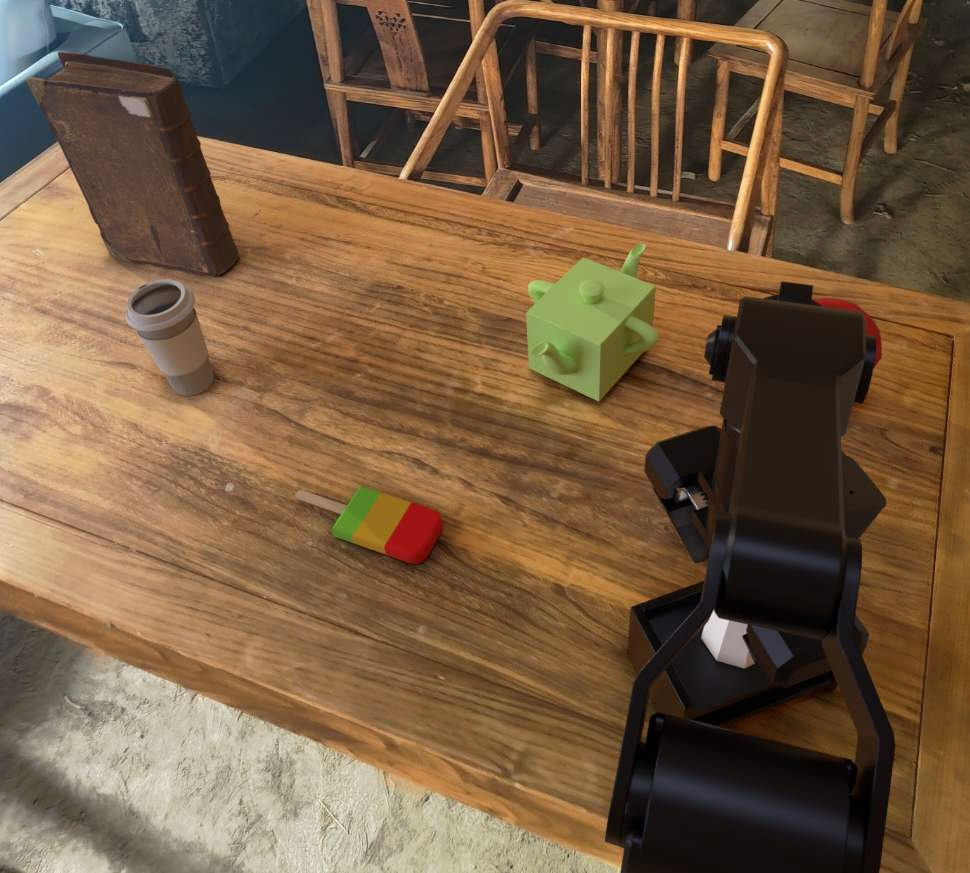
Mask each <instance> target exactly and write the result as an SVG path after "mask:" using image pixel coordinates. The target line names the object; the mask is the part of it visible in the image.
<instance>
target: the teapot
mask: <svg viewBox="0 0 970 873" xmlns="http://www.w3.org/2000/svg"><path fill="white" fill-rule="evenodd" d="M645 250H646V244H645V243H638V244H636V245H635V246H634V247H632V249H631V250H630V251H629V253H628V255H627V256H626V258H625V261H624V263H623V265H622V267H621V269H620V271H619V270H617V269H614V268H611V267H609V266H607V265H604V264H601V263H599V262H596V261H594V260H591V259H588V258H587V257H582V258H581V259H580V260H578V261H577V262H576V263H575V264H574V265H573V266H572V267H571V268H570V269H569V270H567V272H566V273H565V274H564V275H563V276H561V277H560V279H558V281H557V282H556V283H554V282H551V281H548V280H545V279H544V280H543V279H535V280H532V281H531V282H530V283H528V286H527V291H528V294H529V296H530V298H531V300H532V301H533V303H534V304H533V305H532V306H531V307H530V308H528V310H527V311H526V312H525V318H526V320H525V321H526V338H527V340H526V341H527V358H528V369H529V370H532V371H534V372H536V373H538V374H540V375H542V376H544V377H546V378H549V379H550V380H552V381H555V382H557V383H558V384H561V385H563V386H565V387H567V388H569V389H572V390H573V391H575V392H578V393H580V394H582V395H584V396H586V397H588V398H589V399H593V400H595V401H597V402H600V401H601V400H602V399H603V398H604V397H605V396H606V394H608V392H609V391H610V390H611V389H612V388H613V387H614V386H615V385H616V384H617V382H618V381H619V380H620V379H621V378H622V376H624V374H625V373H626V372H627V371H628V370H629V369H630V367H631V366H632V365H633V364H635V362H636V361H637V360H638V359H639V358H640V356H642V354H643V353H644V352H646V351H649V350H651V349H653V348H654V347H655V346H656V345H657V344H658V342H659V339H660V337H659V332H658V331H657V330H656V329H655V328H654V327H653V326H654V314H655V303H656V293H657V292H656V291H657V286H656V285H654V284H651V283H649V282H647V281H643V280H641V279H639V278H638V270H639V264H640V262H641V258H642V256H643V255H644V252H645Z"/></svg>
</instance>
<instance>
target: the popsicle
mask: <svg viewBox="0 0 970 873" xmlns="http://www.w3.org/2000/svg"><path fill="white" fill-rule="evenodd" d="M294 498H295V499H296V500H299V501H301V502H304V503H307V504H309V505H312V506H316V507H319V508H322V509H323V510H324V509H325V510H327V511H330V512H333V513H336V514H338V515H339V517H338V518H337V520H336V521H335V523H334V524H333V526H332V527H331V533H332V535H333V537H335V538H338V539H341V540H344V541H347V542H349V543H352V544H353V545H354V544H355V545H357V546H360V547H363V548H366V549H367V550H368V549H369V550H372V551H374V552H377V553H380V554H382V555H385V556H389V557H390V558H393V559H397V560H400V561H403V562H404V563H405V562H406V563H408V564H413V565H414V564H415V565H416V564H417V565H418V564H421V563H423V562H424V561H425V560H426V559H427V557H428V556H429V555H430V554H431V552H432V550H433V548H434V546H435V544H436V543H437V541H438V540H439V537H440V536H441V534H442V531H443V529H444V522H443V518H442V515H441V514H440V513H439V512H438V511H437V510H435V509H433V508H430V507H427V506H425V505H421V504H418V503H415V502H412V501H410V500H405V499H404V498H399V497H397V496H394V495H390V494H387V493H386V492H385V493H384V492H381V491H379V490H375V489H373V488H371V487H370V488H369V487H366V486H363V485H361V486H359V487H358V488H357V490H356V491H355V493H354V494H353V496H352V497H351V499H350V501H349V502H348V504H344V503H341V502H339V501H336V500H332V499H329V498H326V497H323V496H321V495H317V494H316V493H315V494H314V493H311V492H308V491H306V490H301V489H299V490H297V491H296V492H295V494H294Z"/></svg>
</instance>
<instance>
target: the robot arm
mask: <svg viewBox="0 0 970 873" xmlns="http://www.w3.org/2000/svg"><path fill="white" fill-rule="evenodd" d="M778 289H779V290H778V294H773V295H770V296H769V295H768V296H765V297H763V298H760V297H755V296H746V295H745V296H743V297H742V298H740V299H739V304H738V308H737V313H736V314H737V315H736V316H734V315H733V316H732V315H727V314H723V316H722V320H721V324H720V325H719V324H717V325H716V328H715V329H714V330H713V331H711V332H710V333H709V334H707V338H706V343H705V348H704V354H703V355H704V356H703V357H704V359H705V361H706V362H707V364H708V365H709V371H708V375H710V376H711V381H714V382H719V383H724V386H723V392H722V399H721V403H720V409H719V414H720V416H721V417H722V418H723V419H722V424H721V427H720V426H717V425H715V424H714V425H713V424H712V425H706V426H703V427H700V428H696V429H693V430H690V431H687V432H684V433H681V434H677V435H674V436H671V437H668V438H665V439H662V440H659V441H656V442H655V443H654V444H653V445H651V447H650V448H649V449H648V451H647V452H646V454H645V459H644V470H643V473H644V474H645V475H646V477H647V479H648V480H649V483H650V484H651V485H652V491H653V493H654V494H655V496H656V498H657V500H658V501H659V503H660V505H661V506H662V508H663V510H664V512H665V513H666V516H667V517H668V519H669V521H670V523H671V525H672V526H673V528H674V529H675V531H676V533H677V535H678V536H679V538H680V540H681V542H682V544H683V546H684V547H685V549H686V551H687V553H688V555H689V557H690V558H691V560H692V562H693V563H694V565H695V564H696V565H697V564H700V563H703V562H706V561H707V564H706V570H705V574H704V580H703V581H704V585H703V591H702V597H701V602H700V603H699V605H698V606H697V607H696V608H695V609H694V610H693V611H692V613H691V614H690V615H689V616H688V617H687V618H686V619H685V620H684V622H683V623H682V624H681V625H680V626H679V627H678V628H677V630H676V631H675V632H674V633H673V634H672V635H671V636H670V637H669V639H668V640H667V641H666V642H665V643H664V644H663V645H662V647H661V648H660V649H659V650H658V651H657V652H656V653H655V654H654V656H653V657H652V658H651V659H650V660H649V661H648V662H647V664H646V665H645V666H644V667H643V668H642V669H641V670H640V671H639V673H638V674H637V675H636V677H635V679H634V681H633V684H632V690H631V695H630V700H629V705H628V711H627V715H626V719H625V720H626V721H625V727H624V731H623V735H622V741H621V747H620V752H619V757H618V762H617V768H616V772H615V778H614V784H613V788H612V794H611V798H610V804H609V810H608V814H607V815H608V816H607V821H606V828H605V835H604V843H606V844H609V845H613V846H617V847H619V848H622V849H623V853H622V860H621V866H620V873H880V870H881V862H882V855H883V854H882V853H883V849H884V848H883V847H884V842H885V841H884V840H885V833H886V824H887V816H888V810H889V800H890V792H891V784H892V777H893V770H894V762H895V753H896V748H897V747H896V746H897V745H896V738H895V732H894V729H893V727H892V725H891V723H890V719H889V718H888V715H887V712H886V711H885V708H884V705H883V702H882V701H881V698H880V695H879V694H878V691H877V688H876V687H875V684H874V681H873V679H872V676H871V674H870V672H869V670H868V667H867V665H866V664H867V663H866V662H865V659H864V657H863V655H864V652H865V651H866V649H867V645H868V641H869V638H870V632H869V631H868V629H867V628H866V626H865V625H864V623H862V621H861V619H860V618H859V617H858V615H857V614H856V613H857V607H858V606H857V605H858V598H859V592H860V585H861V577H862V566H863V543H862V539H861V537H862V536H863V535H864V533H865V532H866V531H867V530H868V529H869V527H870V526H871V524H872V523H873V522H874V521H875V519H876V518H877V517H878V516H879V514H881V512H882V511H883V510H884V508H886V506H887V498H886V496H885V495H884V494H883V492H882V491H881V490H880V489H879V487H878V486H877V485H876V484H875V482H874V481H872V479H871V478H870V476H868V474H867V472H865V471H864V469H863V468H862V467H861V465H860V464H859V463H858V462H857V461H856V460H855V459H854V458H852V457H850V456H849V455H848V454H846V453H845V452H844V451H843V449H842V437H844V436H846V434H847V430H848V426H849V423H850V418H851V415H852V411H853V406H854V404H860V405H862V404H863V403H864V402H865V400H866V398H867V395H868V392H869V389H870V385H871V382H872V378H873V373H874V369H875V368H874V363H875V356H876V347H877V339H876V336H871V335H866V319H865V316H864V315H863V313H862V312H859V311H852V310H844V309H837V308H829V307H823V306H822V305H820V304H819V303H817V302H816V301H814V300H812V299H813V292H814V291H813V290H814V285H813V284H807V283H800V282H799V283H798V282H791V281H780V284H779V288H778ZM873 368H874V369H873ZM713 610H714V612H715V614H716V615H717V616H718V618H720V619H725V620H729V621H734V622H739V623H743V624H748V625H747V629H746V632H747V634H744V635H743V636H742V638H743V640H744V642H745V644H746V646H747V648H748V650H749V652H750V655H751V657H752V659H753V661H754V663H755V665H756V666H757V668H761V669H762V671H763V672H764V673H766V674H767V675H768V676H769V678H770V680H771V681H772V683H774V684H777V685H779V686H782V687H785V688H787V687H789V686H792V685H794V684H797V683H800V682H802V681H805V680H808V679H810V678H813V677H816V676H818V675H821V674H824V673H826V672H829V671H831V670H832V672H833V674H834V677H835V679H836V682H837V684H838V686H837V688H838V689H839V691H840V694H841V696H842V699H843V701H844V704H845V706H846V708H847V711H848V714H849V716H850V718H851V720H852V724H853V726H854V728H855V731H856V733H857V740H856V748H855V756H854V761H853V759H851V758H848V757H843V756H838V755H835V754H830V753H827V752H822V751H819V750H816V749H811V748H806V747H802V746H798V745H794V744H791V743H785V742H781V741H778V740H774V739H770V738H765V737H762V736H757V735H754V734H750V733H745V732H741V731H737V730H733V729H729V728H726V727H723V728H721V727H717V726H713V725H709V724H705V723H701V722H697V721H693V720H689V719H685V718H681V717H677V716H673V715H668V714H664V713H660V712H654V713H653V714H651V715H650V716H649V721H648V727H647V732H646V738H645V742H644V741H642V739H643V738H642V737H643V732H644V727H645V722H646V717H647V710H648V705H649V700H650V698H649V696H650V691H651V687H652V685H653V684H654V682H655V681H656V680H657V679H658V678H659V677H660V676H661V675H662V673H663V672H664V671H665V670H666V669H667V668H668V667H669V665H670V664H671V663H672V662H673V661H674V660H675V659H676V657H677V656H678V655H679V654H680V653H681V652H682V651H683V650H684V648H685V647H686V646H687V645H688V644H689V643H690V642H691V640H692V639H693V638H694V637H695V636H696V635H697V634H698V632H699V631H700V630H701V629H702V628H703V627H704V626H705V625H706V623H707V622H708V621H709V619H710V617H711V615H712V612H713Z"/></svg>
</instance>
